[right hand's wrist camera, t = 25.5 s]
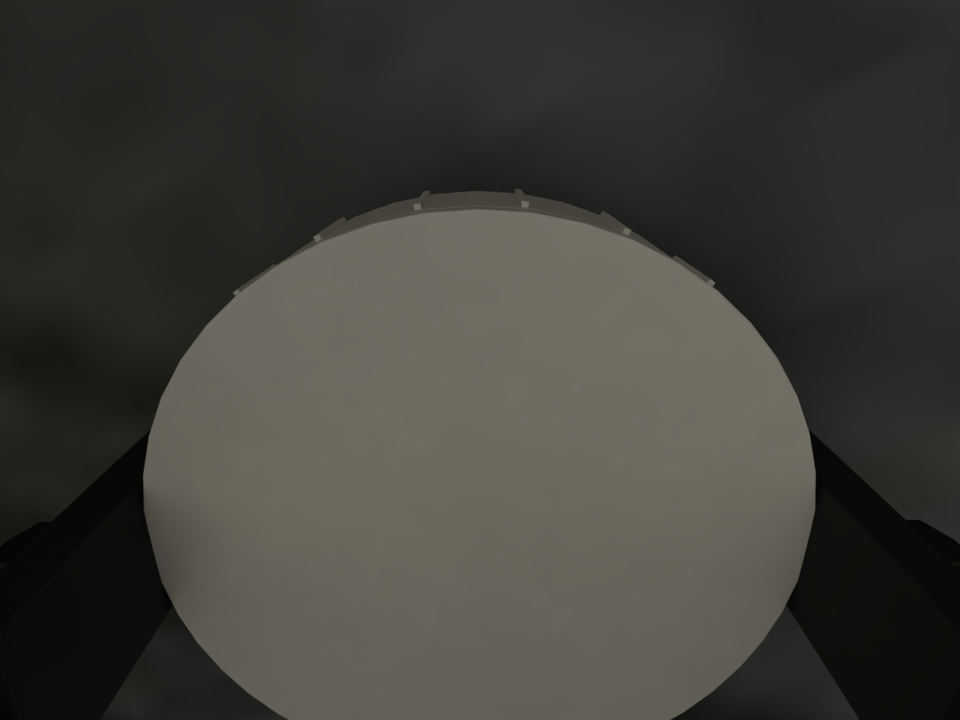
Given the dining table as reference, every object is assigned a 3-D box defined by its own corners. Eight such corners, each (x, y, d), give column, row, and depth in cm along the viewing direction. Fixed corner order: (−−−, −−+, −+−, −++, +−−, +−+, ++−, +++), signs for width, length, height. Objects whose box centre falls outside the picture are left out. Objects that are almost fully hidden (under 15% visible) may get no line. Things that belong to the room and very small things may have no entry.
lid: (287, 74, 10) (227, 59, 7) (874, 327, 11) (972, 378, 9) (152, 587, 14) (87, 680, 11) (603, 721, 15) (624, 825, 13)
